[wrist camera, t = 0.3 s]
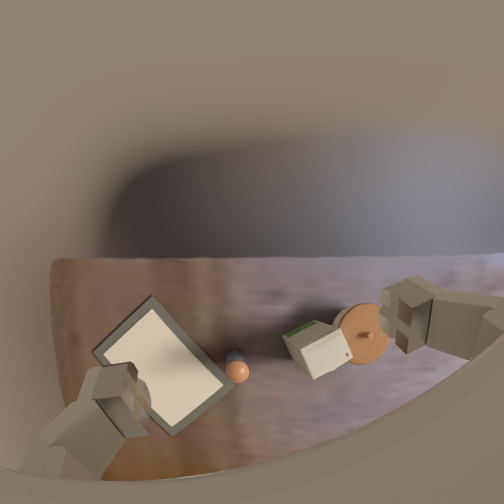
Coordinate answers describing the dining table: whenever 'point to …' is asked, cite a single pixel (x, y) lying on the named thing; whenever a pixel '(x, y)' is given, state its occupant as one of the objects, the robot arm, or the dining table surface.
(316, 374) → the skincare box
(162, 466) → the dining table surface
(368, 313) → the lidded bowl
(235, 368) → the marker
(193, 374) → the mat
